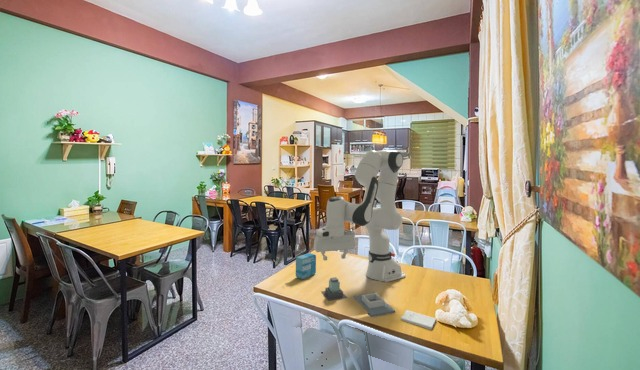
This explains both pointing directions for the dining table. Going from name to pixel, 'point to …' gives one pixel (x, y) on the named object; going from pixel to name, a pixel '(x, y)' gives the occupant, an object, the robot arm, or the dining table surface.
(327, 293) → the dark grey square box
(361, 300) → the dock
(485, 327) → the dining table surface
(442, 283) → the dining table surface
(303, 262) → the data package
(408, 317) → the external hard drive
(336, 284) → the plug
